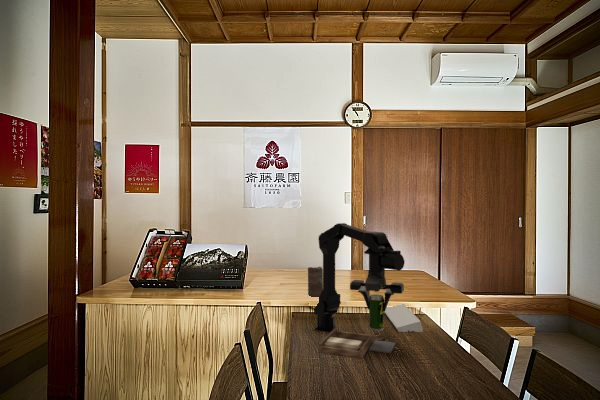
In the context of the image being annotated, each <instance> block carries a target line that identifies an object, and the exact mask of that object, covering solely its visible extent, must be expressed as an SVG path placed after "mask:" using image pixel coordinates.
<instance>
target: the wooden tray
mask: <svg viewBox="0 0 600 400" xmlns="http://www.w3.org/2000/svg"><path fill="white" fill-rule="evenodd" d="M330 337H335V338H343V339H350V340H358V341H365V342H364V343H362V345H361V348H360V351H354V350H347V349H340V348H332V347H325V343H326V341H327V340H328V339H329V338H330ZM374 341H375V332H371V334H365V333H357V332H349V331H341V330H338V328H337V327H335V328H334V329H333V330H332V331H330V332H329V333H328V334H327V335H326V336H325V337H324V338H323V339H322V340H320V342H319V343H318V352H319V353H322V354H329V355H335V356H343V357H348V358H349V357H350V358H355V359H356V358H357V359H363V358H364V357H365V354H366V353H367V352H368V351H369V348H370V347H371V345H372V344H373V342H374Z"/></svg>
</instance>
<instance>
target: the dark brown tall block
mask: <svg viewBox="0 0 600 400" xmlns="http://www.w3.org/2000/svg"><path fill="white" fill-rule="evenodd" d="M322 290H323V266H317V267H316V266H315V267H311V266H309V267H307V296H308V295H309V296H311V297H319V296H320V294H321V292H322Z"/></svg>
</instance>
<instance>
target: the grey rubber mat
mask: <svg viewBox="0 0 600 400" xmlns="http://www.w3.org/2000/svg"><path fill="white" fill-rule="evenodd" d="M395 346H396V342H392V341H391V342H390V341H384V340H375V339H374V342H373V343H372V345H371V346H370V348H369V349H368V351H371V352H377V353H383V354H384V353H385V354H392V352H393V350H394V348H395Z"/></svg>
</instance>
